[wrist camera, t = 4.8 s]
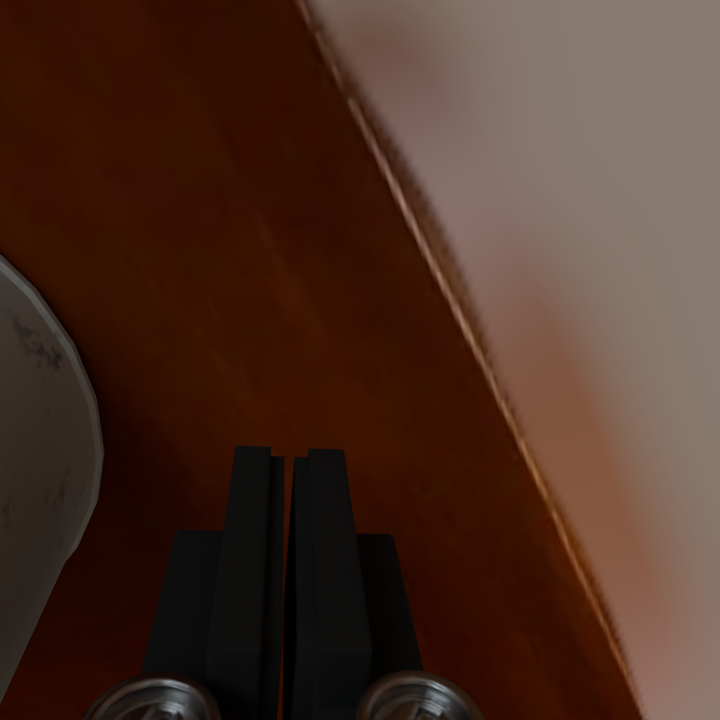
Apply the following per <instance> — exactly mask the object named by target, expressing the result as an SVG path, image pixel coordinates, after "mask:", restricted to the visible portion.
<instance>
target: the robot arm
mask: <svg viewBox="0 0 720 720" xmlns="http://www.w3.org/2000/svg"><path fill="white" fill-rule="evenodd" d="M270 454H271V447H259V446H236V448H235V455H234V462H233V469H232V476H231V483H230V490H229V497H228V504H227V511H226V518H225V525H224V531H217V530H177V532H176V534H175V537H174V541H173V545H172V549H171V553H170V557H169V561H168V565H167V569H166V573H165V577H164V581H163V585H162V589H161V593H160V598H159V602H158V606H157V610H156V614H155V618H154V622H153V626H152V630H151V634H150V638H149V642H148V646H147V650H146V654H145V658H144V662H143V666H142V670H141V674H140V675H138V676H134V677H130V678H128V679H126V680H124V681H122V682H120V683H118V684H116V685H114V686H113V687H111V688H109V689H108V690H107V691H106V692H104V693H103V694H102V695H101V696H100V697H99V698H98V699H96V700H95V701H94V702H93V703H92V704H91V706H90V707H89V709H88V710H87V712H86V713H85V714H84V716H83V717H82V719H81V720H277V708H278V694H279V681H280V667H281V648H282V596H283V515H284V457H279V456H270ZM282 720H485V718H484V716H483V714H482V713H481V711H480V710H479V708H478V707H477V705H476V704H475V702H474V701H473V699H472V698H471V697H470V696H469V695H468V694H467V693H465V692H464V691H463V690H462V689H461V688H460V687H459V686H458V685H456V684H454V683H453V682H451V681H449V680H447V679H445V678H443V677H441V676H440V675H436V674H432V673H428V672H424V671H423V666H422V662H421V658H420V653H419V649H418V644H417V640H416V635H415V631H414V626H413V622H412V618H411V613H410V609H409V604H408V600H407V595H406V591H405V586H404V582H403V578H402V573H401V569H400V564H399V560H398V555H397V551H396V547H395V543H394V539H393V537H392V536H391V534H356V532H355V525H354V518H353V511H352V504H351V497H350V490H349V483H348V476H347V470H346V463H345V456H344V451H343V450H337V449H311V448H309V450H308V457H295V460H294V471H293V485H292V498H291V511H290V525H289V538H288V552H287V565H286V579H285V593H284V619H283V719H282Z"/></svg>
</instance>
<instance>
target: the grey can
mask: <svg viewBox="0 0 720 720" xmlns="http://www.w3.org/2000/svg"><path fill="white" fill-rule="evenodd" d="M103 459H104V445H103V438H102V431H101V424H100V417H99V410H98V403H97V398H96V395H95V393H94V390H93V388H92V385H91V383H90V381H89V378H88V376H87V373H86V371H85V368H84V366H83V364H82V361H81V359H80V356H79V354H78V351H77V349H76V346H75V344H74V342H73V341H72V339H71V338H70V336H69V335H68V333H67V332H66V331H65V329H64V328H63V326H62V325H61V323H60V322H59V320H58V319H57V318H56V316H55V315H54V313H53V312H52V310H51V309H50V308H49V306H48V305H47V303H46V302H45V300H44V299H43V298H42V296H41V295H40V293H39V292H38V290H37V289H36V288H35V287H34V286H33V285H32V284H31V283H30V282H29V281H28V280H27V279H26V278H25V277H24V276H23V275H22V274H21V273H20V272H19V271H18V270H16V269H15V268H14V267H13V266H12V265H11V264H10V263H9V262H8V261H7V260H6V259H5V258H4V257H3V256H2V255H1V254H0V704H1V701H2V699H3V697H4V695H5V693H6V690H7V688H8V686H9V684H10V682H11V679H12V677H13V675H14V673H15V671H16V668H17V666H18V664H19V662H20V660H21V657H22V655H23V653H24V651H25V649H26V647H27V644H28V642H29V640H30V638H31V636H32V633H33V631H34V629H35V627H36V625H37V622H38V620H39V618H40V616H41V614H42V611H43V609H44V607H45V605H46V603H47V600H48V598H49V596H50V594H51V592H52V589H53V587H54V585H55V583H56V581H57V578H58V576H59V574H60V572H61V570H62V568H63V565H64V563H65V562H66V561H67V559H68V558H69V557H70V556H71V554H72V553H73V552H74V551H75V550H76V548H77V547H78V545H79V543H80V540H81V538H82V536H83V533H84V531H85V529H86V526H87V524H88V522H89V520H90V517H91V515H92V513H93V510H94V508H95V506H96V504H97V501H98V497H99V490H100V482H101V474H102V466H103Z"/></svg>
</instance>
